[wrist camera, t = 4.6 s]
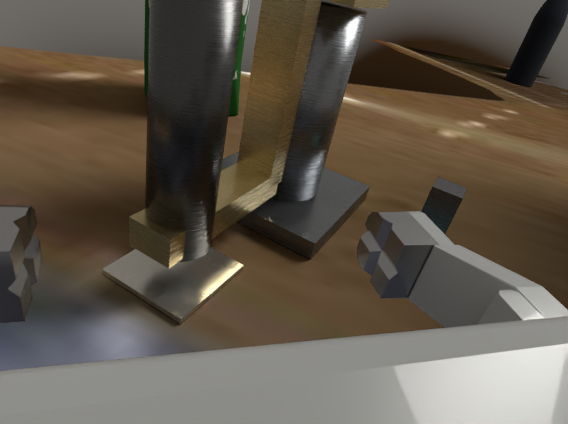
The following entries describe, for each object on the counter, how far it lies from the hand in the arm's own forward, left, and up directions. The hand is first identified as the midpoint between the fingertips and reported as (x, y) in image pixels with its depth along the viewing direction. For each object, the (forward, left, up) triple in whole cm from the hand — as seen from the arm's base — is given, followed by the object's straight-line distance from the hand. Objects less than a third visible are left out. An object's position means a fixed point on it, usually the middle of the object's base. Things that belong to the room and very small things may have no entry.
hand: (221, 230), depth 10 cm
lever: (-12, -6, -7) cm, 15 cm away
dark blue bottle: (-113, +8, -9) cm, 113 cm away
